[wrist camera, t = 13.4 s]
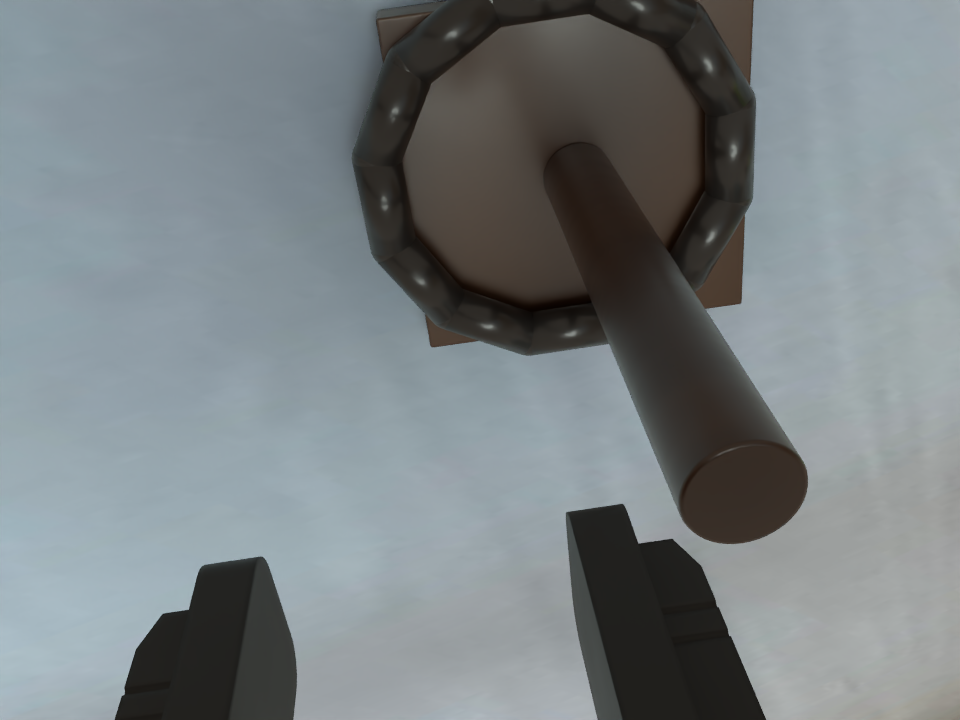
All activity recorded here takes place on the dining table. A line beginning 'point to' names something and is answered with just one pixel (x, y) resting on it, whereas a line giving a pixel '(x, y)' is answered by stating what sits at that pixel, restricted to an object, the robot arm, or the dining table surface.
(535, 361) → the dining table surface
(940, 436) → the dining table surface
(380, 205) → the ring
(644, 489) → the dining table surface
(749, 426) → the post
